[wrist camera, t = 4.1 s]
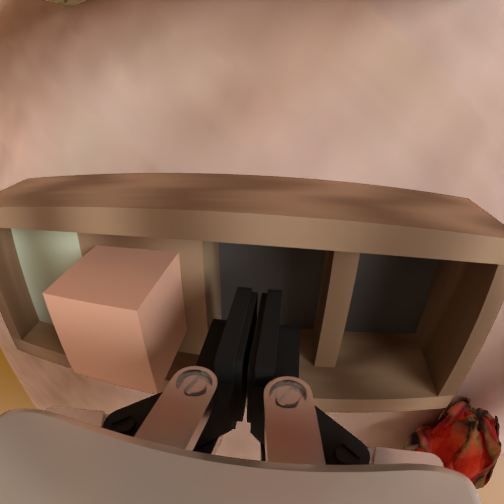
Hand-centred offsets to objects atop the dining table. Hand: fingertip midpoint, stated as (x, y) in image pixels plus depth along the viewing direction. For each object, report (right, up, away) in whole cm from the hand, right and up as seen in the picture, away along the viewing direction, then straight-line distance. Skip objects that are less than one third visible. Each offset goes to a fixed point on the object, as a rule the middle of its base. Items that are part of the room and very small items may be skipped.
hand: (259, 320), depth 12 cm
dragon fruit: (+15, -11, +8) cm, 21 cm away
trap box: (-2, +2, +4) cm, 5 cm away
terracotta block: (-5, +1, +2) cm, 6 cm away
